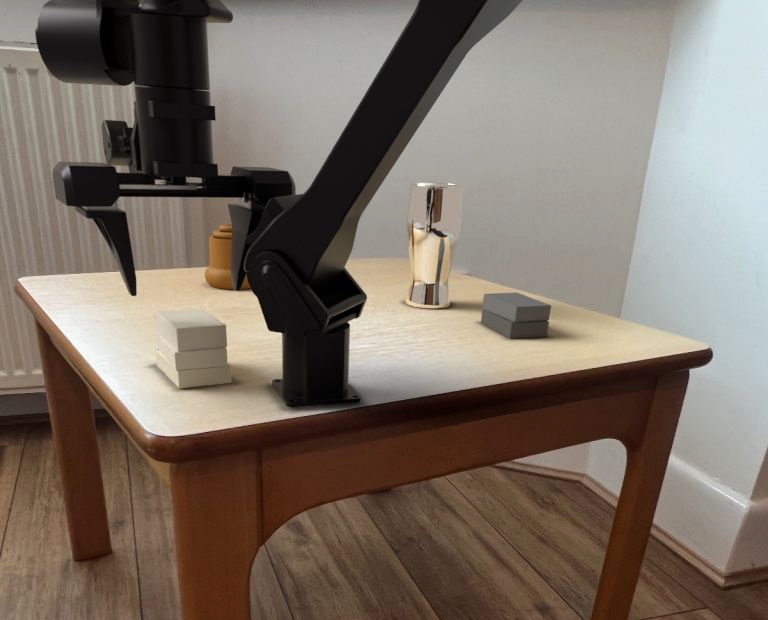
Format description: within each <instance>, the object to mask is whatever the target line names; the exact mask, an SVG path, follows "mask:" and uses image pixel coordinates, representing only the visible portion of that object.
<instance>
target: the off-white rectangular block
mask: <svg viewBox="0 0 768 620" xmlns="http://www.w3.org/2000/svg"><path fill="white" fill-rule="evenodd" d="M154 321H155V332H156V334H157V333H158V334H159V335H160V336H162V337H163V338H164V339H165V340H166V341H167V342H168V343H169V344H170V345H172V346H173V347H174V348H175V349H176V350H177V351H190V350H201V349H211V348H222V347H225V348H227V347H228V336H227V324H226V323H224V322H223V321H222V320H220V319H218V318H217V317H215V316H214V315H213V314H212V313H210V312H208V311H207V310H206V309H204V308H202V307H191V308H176V309H173V308H172V309H160V310H154Z"/></svg>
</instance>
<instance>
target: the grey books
mask: <svg viewBox="0 0 768 620" xmlns="http://www.w3.org/2000/svg"><path fill="white" fill-rule="evenodd" d="M482 298H483V299H482V310H481V316H480V317H481V319H480V324H482V325H483V326H486V327H488V328H489V329H492V330H493V331H495V332H497V333H499V334H500V335H503V336H504V337H506V338H508V339H527V338H528V339H529V338H547V337H548V332H549V324H550V316H551V309H552V305H551V304H549V303H546V302H544V301H540V300H538V299H535V298H532V297H530V296H527V295H525V294H522V293H519V292H497V293H496V292H495V293H484V294H483V297H482Z"/></svg>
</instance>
